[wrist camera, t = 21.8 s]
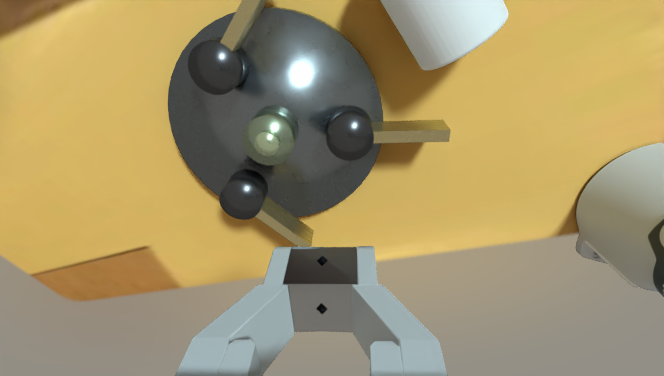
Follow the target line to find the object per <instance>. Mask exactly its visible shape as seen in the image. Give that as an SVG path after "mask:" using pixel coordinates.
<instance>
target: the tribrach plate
mask: <svg viewBox="0 0 664 376" xmlns="http://www.w3.org/2000/svg"><path fill="white" fill-rule="evenodd" d="M235 13H236V12H235ZM235 13H231V14H228V15H226V16H224V17H222V18H220V19H218V20H215V21H214V22H212V23H211V24H209V25H208V26H206V27H205V28H204V29H202V30H201V31H200V32H199V33H198V34H197V35H196V36H195V37H194V38H193V39H192V40H191V41H190V42H189V44H188V45H187V46H186V47H185V49H184V50H183V52H182V53H181V55H180V57H179V59H178V61H177V63H176V65H175V68H174V71H173V73H172V76H171V81H170V86H169V93H168V112H169V120H170V125H171V130H172V133H173V136H174V139H175V142H176V144H177V146H178V148H179V151H180V153H181V155H182V157H183V158H184V160H185V161H186V163H187V164H188V166H189V167H190V169H191V170H192V171H193V172H194V174H195V175H196V176H197V177H198V178H199V179H200V180H201V181H202V182H203V183H204V184H205V185H206V186H207V187H208V188H209V189H210V190H212V191H213V192H214V193H215V194H217V195H218V196H220V193H221V191H222V190H223V188H224V187H225V185H226V184H227V182H228V181H229V179H230V177H231V176H232V175H233V174H234V173H235V172H237V171H239V170H242V169H249V170H253V171H256V172H258V173H259V174H261V175H262V176H263V177H264V179H265V180H266V182H267V184H268V193H267V196H268V197H269V198H270V199H272V200H273V201H274V202H276V203H277V204H278V205H280V206H281V207H283V208H284V209H285V210H287V211H288V212H289V213H291V214H292V215H293V216H295V217H300V216H306V215H311V214H314V213H318V212H321V211H324V210H326V209H328V208H330V207H333V206H334V205H336V204H338V203H339V202H341V201H343V200H344V199H345V198H347V197H348V196H349V195H350V194H352V193H353V192H354V191H355V190H356V189H357V188H358V187H359V186H360V185H361V184H362V182H363V181H364V180H365V178H366V177H367V176H368V174H369V172H370V170H371V169H372V167H373V165H374V163H375V161H376V158H377V155H378V153H379V149H380V145H381V143H373V145H372V148H371V150H370V151H369V152H368V153H367V154H366V155H365V156H364V157H362V158H360V159H357V160H352V161H347V160H342V159H340V158H338V157H336V156H335V155H334V154H333V153H332V152H331V151H330V150H329V148H328V146H327V142H326V135H327V129H328V123H329V120H330V117H331V116H332V114H333V113H334V112H335V111H336V110H338V109H339V108H341V107H344V106H356V107H359V108H361V109H363V110H364V111H365V112H366V113H367V114H368V115H369V117H370V119H371V122H381V121H383V110H382V105H381V99H380V95H379V92H378V89H377V85H376V82H375V79H374V77H373V75H372V73H371V71H370V69H369V67H368V65H367V63H366V62H365V60H364V59H363V57H362V56H361V54H360V53H359V51H358V50H357V49H356V48H355V47H354V46H353V45H352V43H351V42H350V41H349V40H348V39H347V38H345V37H344V36H343V35H342V34H341V33H340V32H339V31H337V30H336V29H334V28H333V27H331V26H330V25H328V24H327V23H325V22H324V21H322V20H319V19H317V18H315V17H313V16H311V15H308V14H305V13H302V12H299V11H296V10H291V9H285V8H273V7H264V8H263V10H262V12H261V13H260V15H259V17H258V19H257V20H256V22H255V24H254V26H253V28H252V29H251V31H250V33H249V35H248V37H247V38H246V40H245V42H244V44H243V45H242V48H243V49H244V51H245V52H246V54H247V57H248V60H249V71H248V74H247V76H246V78H245V80H244V81H243V82H241V83H240V84H239V85H238V86H236V87H235V88H234V89H233V90H231V91H230V92H228V93H226V94H223V95H213V94H209V93H207V92H205V91H203V90H202V89H200V88H199V87H198V86H197V85H196V84H195V83H194V81H193V80H192V78H191V76H190V73H189V70H188V57H189V54H190V52H191V50H192V49H193V48H194V47H195V46H196V45H198V44H199V43H202V42H205V41H208V40H211V39H214V38H218V37H223V36H224V34H225V32H226V30H227V28H228V26H229V24H230V23H231V21H232V19H233V17H234V15H235Z"/></svg>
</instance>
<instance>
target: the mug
mask: <svg viewBox="0 0 664 376" xmlns="http://www.w3.org/2000/svg"><path fill="white" fill-rule="evenodd" d="M380 1H381V3H382V4H383V6H384V8H385V9H386V11H387V13H388V14H389V16H390V18H391V19H392V21H393V23H394V24H395V26H396V28H397V29H398V31H399V33H400V34H401V36H402V38H403V39H404V41H405V43H406V44H407V46H408V48H409V49H410V51H411V53H412V54H413V56H414V58H415V59H416V61H417V63H418V64H419V66H420V68H421V69H423V70H434V69H437V68H440V67H443V66H445V65H448V64H450V63H452V62H454V61H456V60H458V59H459V58H461V57H463V56H465V55H466V54H468V53H470V52H471V51H473V50H474V49H476V48H477V47H479V46H480V45H481V44H483V43H484V42H485V41H487V40H488V39H489V38H490V37H492V36H493V35H494V34H495V33H496V32H497V31H498V30H499V29H500V28H501V27H502V26H503V25H504V23H505V22H506V20H507V18H508V10H507V8H506V6H505V4H504V2H503V1H504V0H380Z"/></svg>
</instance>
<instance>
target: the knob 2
mask: <svg viewBox="0 0 664 376" xmlns="http://www.w3.org/2000/svg"><path fill="white" fill-rule="evenodd" d="M267 193H268V184H267V182H266V180H265V179H264V177H263V176H262V175H261V174H259V173H258V172H256V171H253V170H249V169H242V170H239V171H237V172H235V173H234V174H233V175H232V176H231V177H230V179H229V181H228V182H227V184H226V185H225V187H224V188H223V190H222V191H221V193H220V197H219V200H220V204H221V207H222V208H223V210H224V211H225V212H226V213H227V214H229V215H230V216H232V217H234V218H237V219H243V220H245V219H251V218H253V217H257V218H258V219H259V220H261V221H262V222H264V223H265V224H266V225H268V226H269V227H271V228H272V229H274V230H275V231H276V232H278V233H279V234H281V235H282V236H283V237H285V238H286V239H288V240H289V241H291V242H292V243H293V244H295V245H296V246H298V247H310V246H311V244H312V237H313V231H314V230H312V229H311V228H310V227H308V226H307V225H306V224H304V223H303V222H302V221H300V220H299V219H297V218H296V217H295V216H293V215H292V214H291V213H289V212H288V211H287V210H285V209H284V208H283V207H281V206H280V205H278V204H277V203H276V202H274V201H273V200H272V199H270V198H269V197H268V196H267Z"/></svg>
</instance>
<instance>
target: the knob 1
mask: <svg viewBox="0 0 664 376" xmlns="http://www.w3.org/2000/svg"><path fill="white" fill-rule="evenodd" d="M267 1H268V0H242V2H241V4H240V6H239V7H238V9H237V11H236V13H235V15H234V17H233V19H232V21H231V23H230V24H229V26H228V28H227V30H226V32H225V34H224V36H223V37H218V38H214V39H211V40H208V41H205V42H202V43H199V44H198V45H196V46H195V47H194V48H193V49H192V50H191V52H190V54H189V57H188V70H189V73H190V76H191V78H192V80H193V81H194V83H195V84H196V85H197V86H198V87H199V88H200V89H202V90H203V91H205V92H207V93H209V94H213V95H223V94H226V93H228V92H230V91H231V90H233V89H234V88H235V87H236V86H238V85H239V84H240V83H241V82H243V81H244V80H245V78H246V76H247V74H248V71H249V60H248V57H247V54H246V52H245V51H244V49H243V48H242V45H243V44H244V42H245V40H246V38H247V37H248V35H249V33H250V31H251V29H252V28H253V26H254V24H255V22H256V20H257V19H258V17H259V15H260V13H261V12H262V10H263V8H264V6H265V4H266V3H267Z"/></svg>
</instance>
